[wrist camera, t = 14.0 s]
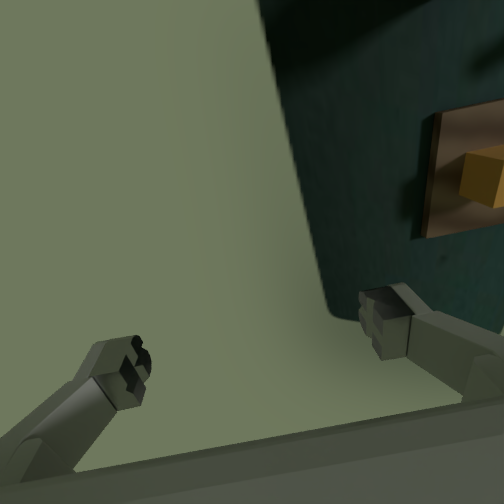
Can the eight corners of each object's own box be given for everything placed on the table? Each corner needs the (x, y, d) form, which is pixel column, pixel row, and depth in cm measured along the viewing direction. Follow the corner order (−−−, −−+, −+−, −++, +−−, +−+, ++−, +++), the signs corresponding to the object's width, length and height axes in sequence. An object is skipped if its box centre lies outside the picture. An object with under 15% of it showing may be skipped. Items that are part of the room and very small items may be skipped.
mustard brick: (466, 152, 38) (504, 160, 32) (510, 143, 37) (556, 149, 32) (458, 194, 40) (492, 208, 35) (499, 186, 40) (540, 199, 35)
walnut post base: (434, 112, 36) (466, 114, 31) (542, 89, 36) (591, 87, 31) (420, 234, 45) (443, 250, 40) (507, 217, 44) (541, 231, 40)
